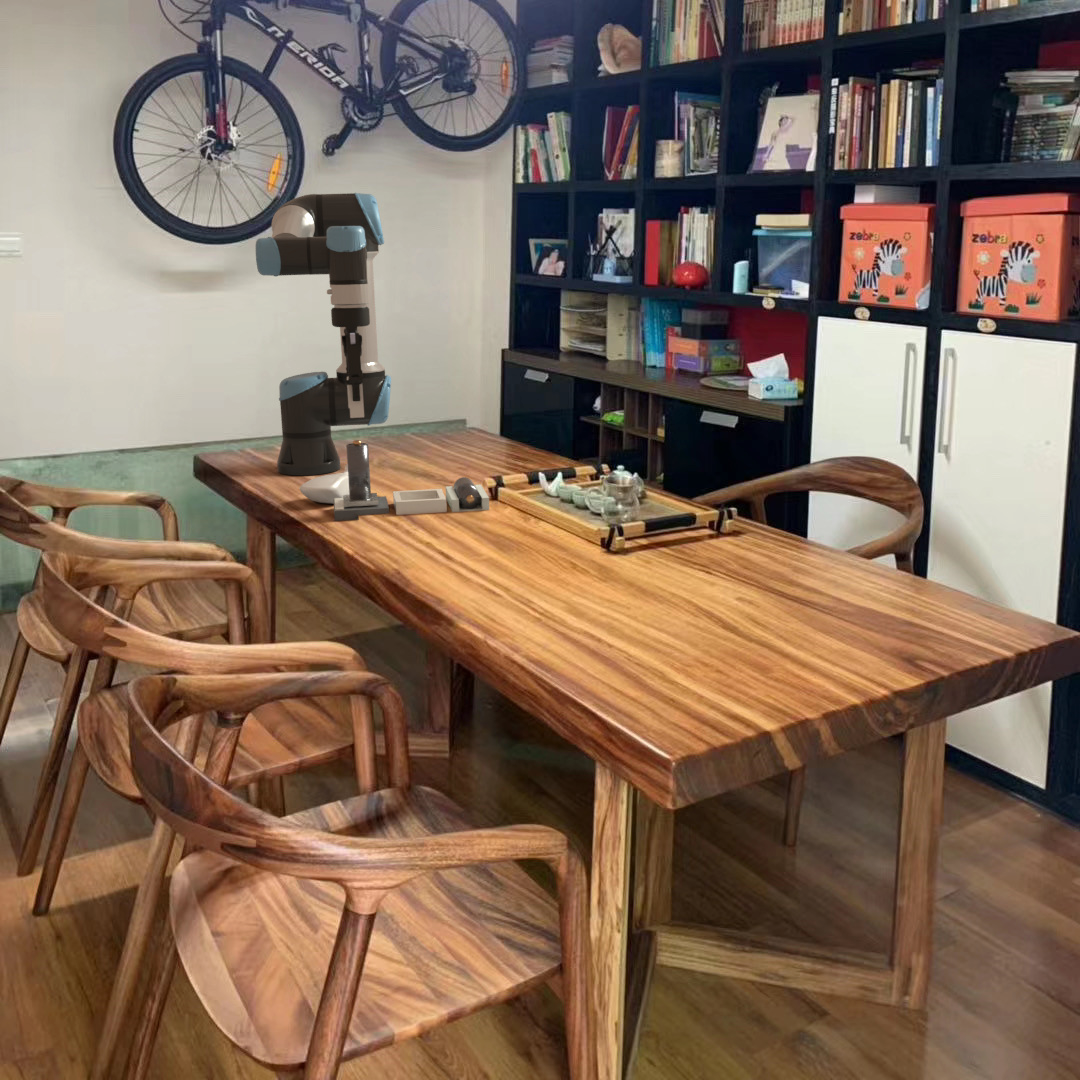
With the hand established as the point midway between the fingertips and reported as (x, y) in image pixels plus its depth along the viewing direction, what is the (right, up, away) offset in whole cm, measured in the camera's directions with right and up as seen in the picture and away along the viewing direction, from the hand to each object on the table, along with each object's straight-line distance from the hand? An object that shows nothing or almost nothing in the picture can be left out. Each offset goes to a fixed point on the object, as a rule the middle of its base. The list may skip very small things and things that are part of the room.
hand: (356, 412), depth 244 cm
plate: (0, -18, +5) cm, 19 cm away
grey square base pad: (0, -20, +5) cm, 21 cm away
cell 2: (+22, -18, +8) cm, 30 cm away
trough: (+22, -19, +8) cm, 30 cm away
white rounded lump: (-9, -18, +17) cm, 26 cm away
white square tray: (+12, -20, +5) cm, 24 cm away
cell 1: (0, -17, +4) cm, 18 cm away
